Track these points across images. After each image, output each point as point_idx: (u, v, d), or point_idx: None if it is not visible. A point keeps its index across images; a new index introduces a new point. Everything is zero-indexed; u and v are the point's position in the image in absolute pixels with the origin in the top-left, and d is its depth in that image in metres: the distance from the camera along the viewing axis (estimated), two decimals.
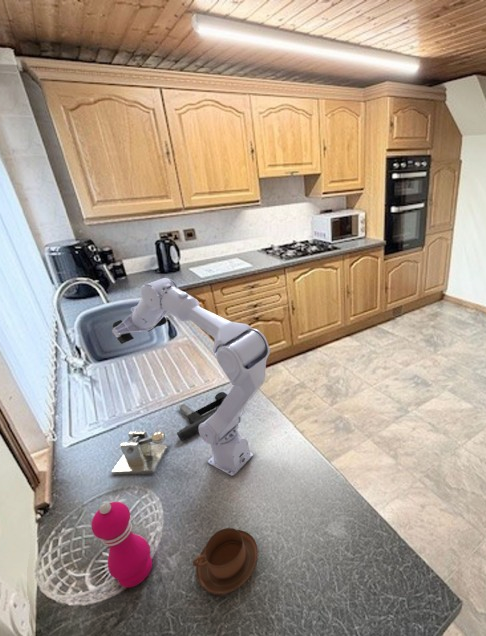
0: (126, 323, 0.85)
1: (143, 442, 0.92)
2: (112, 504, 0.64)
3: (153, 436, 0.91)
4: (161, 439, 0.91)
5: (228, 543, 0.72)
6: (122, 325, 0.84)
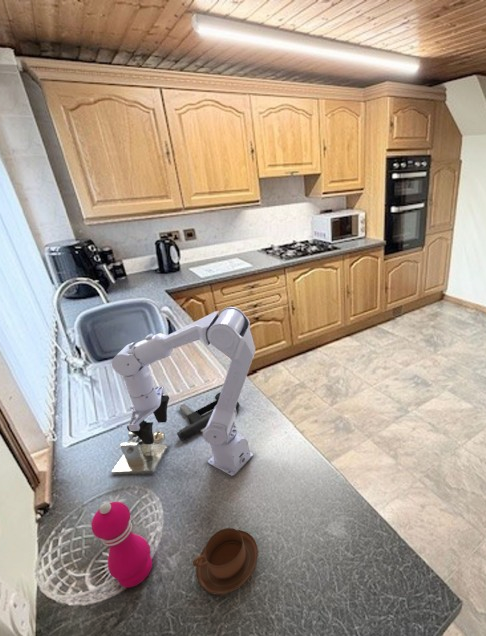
0: (135, 416, 0.84)
1: (143, 442, 0.92)
2: (112, 504, 0.64)
3: (153, 436, 0.91)
4: (161, 439, 0.91)
5: (228, 543, 0.72)
6: (133, 419, 0.83)
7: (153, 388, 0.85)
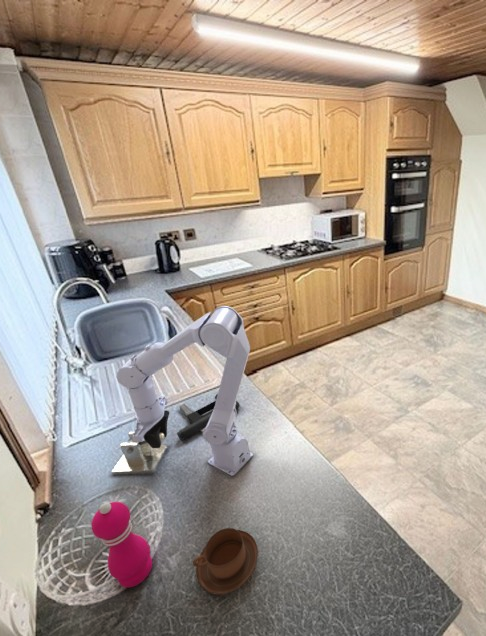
0: (140, 427, 0.85)
1: (143, 442, 0.92)
2: (112, 504, 0.64)
3: None
4: (161, 439, 0.91)
5: (228, 543, 0.72)
6: (138, 430, 0.84)
7: (157, 399, 0.87)
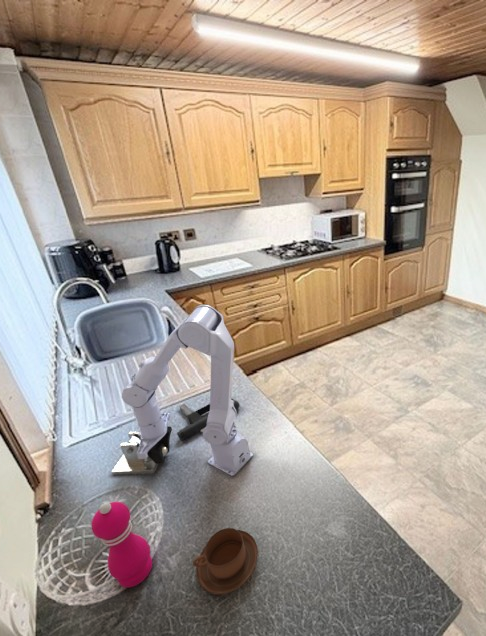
0: (143, 444, 0.88)
1: None
2: (112, 504, 0.64)
3: None
4: (164, 455, 0.94)
5: (228, 543, 0.72)
6: (141, 447, 0.87)
7: (160, 417, 0.89)
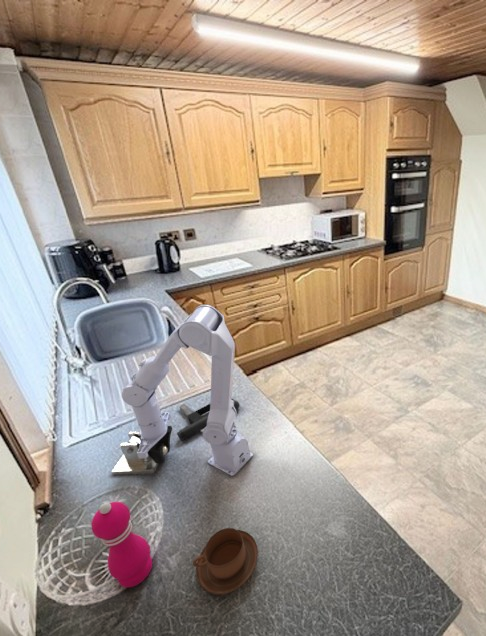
0: (144, 444, 0.88)
1: None
2: (112, 504, 0.64)
3: None
4: (164, 455, 0.94)
5: (228, 543, 0.72)
6: (142, 447, 0.87)
7: (160, 416, 0.89)
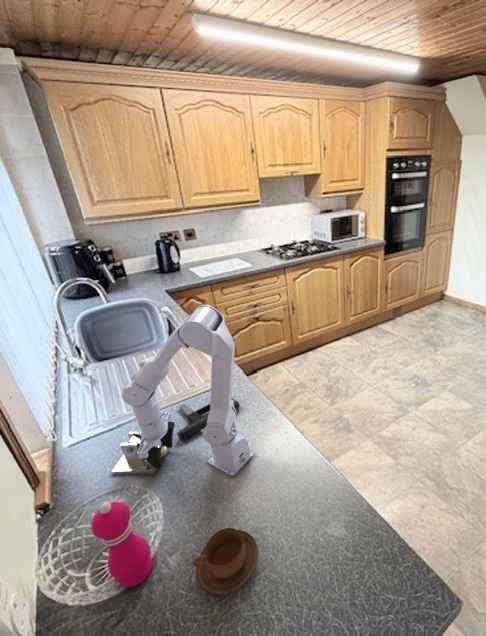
0: (144, 443, 0.88)
1: None
2: (112, 504, 0.64)
3: None
4: None
5: (228, 543, 0.72)
6: (142, 447, 0.87)
7: (160, 416, 0.89)
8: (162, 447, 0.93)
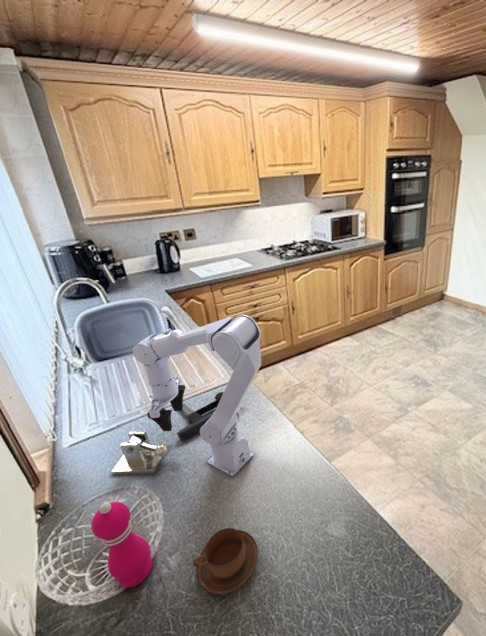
0: None
1: (144, 447, 0.93)
2: (112, 504, 0.64)
3: (159, 449, 0.93)
4: None
5: (228, 543, 0.72)
6: (153, 407, 0.86)
7: (172, 377, 0.89)
8: (162, 447, 0.93)
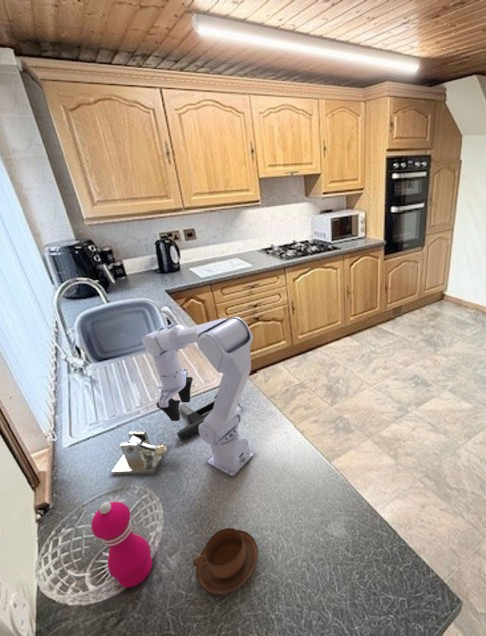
0: (164, 394, 0.91)
1: (144, 447, 0.93)
2: (112, 504, 0.64)
3: (159, 449, 0.93)
4: None
5: (228, 543, 0.72)
6: (162, 397, 0.90)
7: (180, 369, 0.92)
8: (162, 447, 0.93)
